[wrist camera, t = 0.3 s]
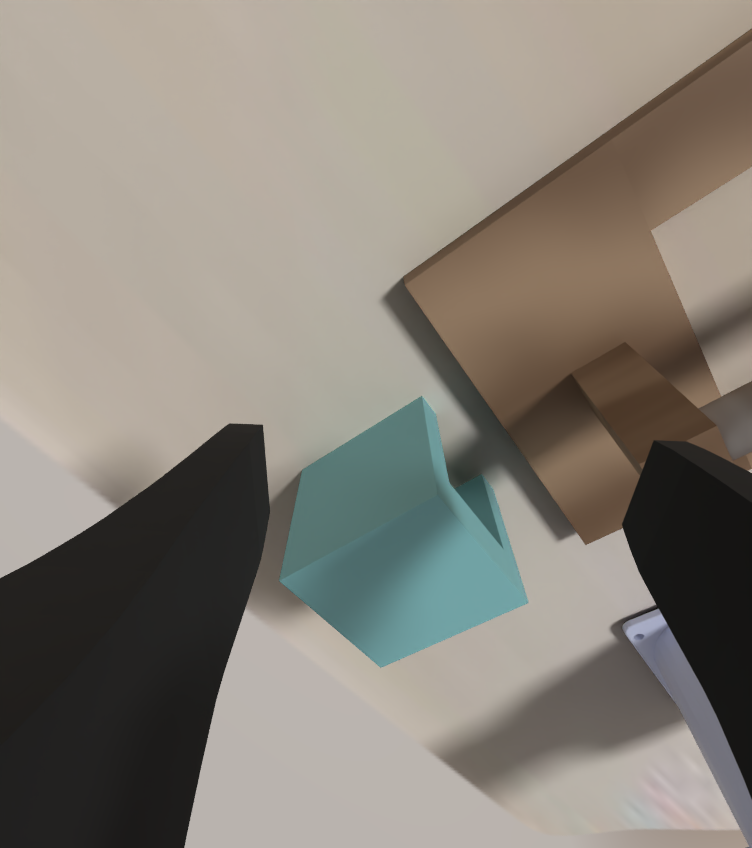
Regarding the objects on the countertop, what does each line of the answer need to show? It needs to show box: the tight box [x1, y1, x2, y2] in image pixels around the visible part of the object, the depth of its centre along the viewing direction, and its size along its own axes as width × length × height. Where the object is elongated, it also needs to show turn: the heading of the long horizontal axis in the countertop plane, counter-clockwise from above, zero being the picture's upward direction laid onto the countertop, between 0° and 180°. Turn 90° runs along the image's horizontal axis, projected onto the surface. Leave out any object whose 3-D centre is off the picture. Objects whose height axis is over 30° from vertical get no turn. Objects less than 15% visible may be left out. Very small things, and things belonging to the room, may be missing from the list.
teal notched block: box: [279, 396, 528, 667], centre depth 19 cm, size 6×6×6 cm
